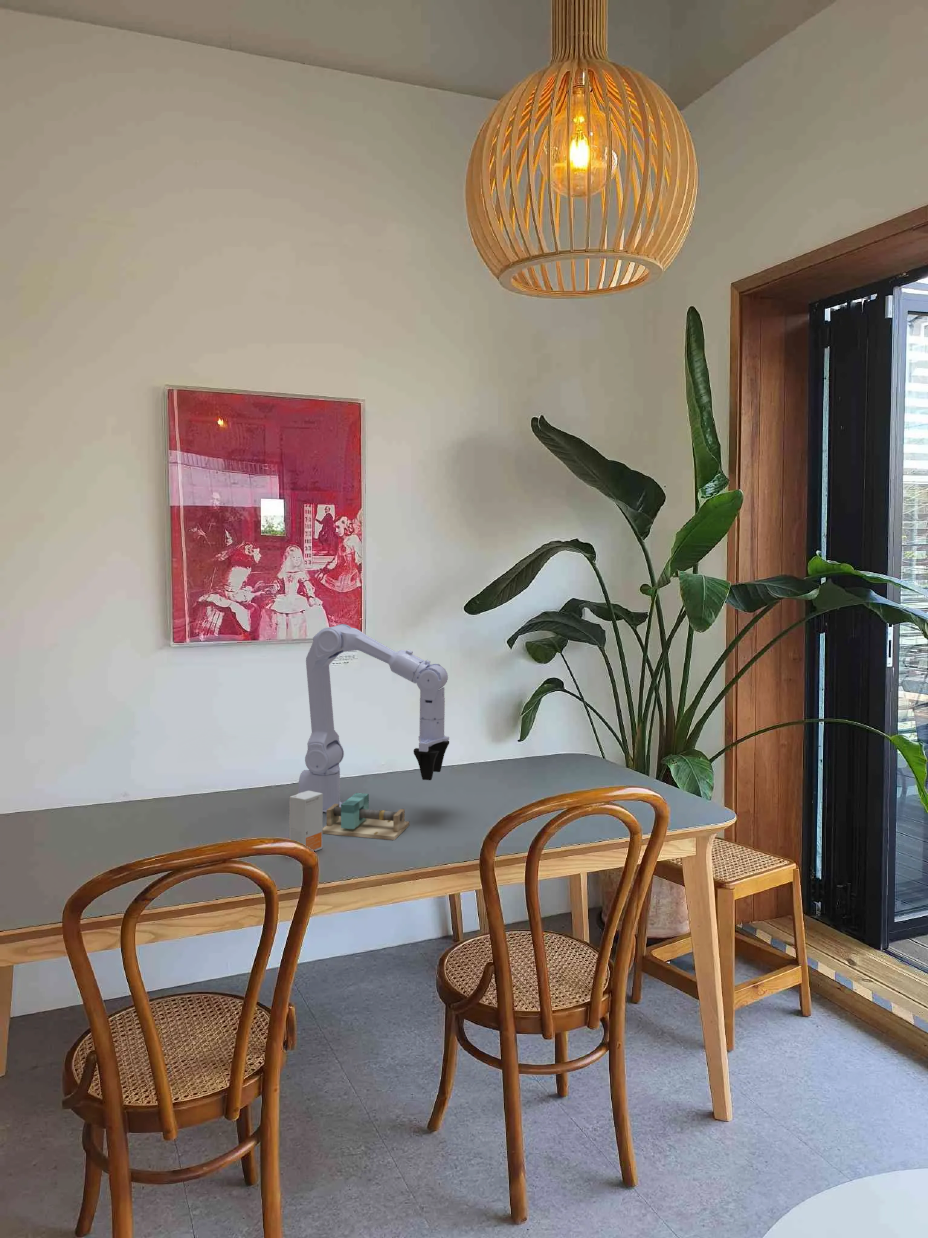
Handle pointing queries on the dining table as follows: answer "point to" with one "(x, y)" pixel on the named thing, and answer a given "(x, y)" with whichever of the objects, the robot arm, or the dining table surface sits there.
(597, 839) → the dining table surface
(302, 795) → the skincare box
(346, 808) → the collar
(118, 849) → the dining table surface
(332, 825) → the pipe jig
